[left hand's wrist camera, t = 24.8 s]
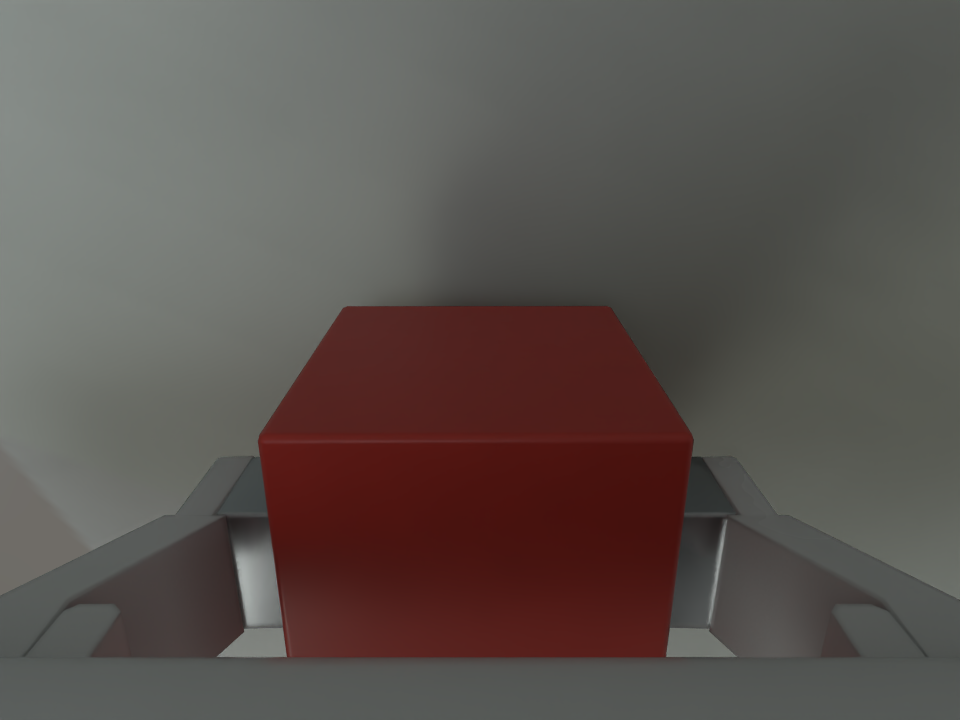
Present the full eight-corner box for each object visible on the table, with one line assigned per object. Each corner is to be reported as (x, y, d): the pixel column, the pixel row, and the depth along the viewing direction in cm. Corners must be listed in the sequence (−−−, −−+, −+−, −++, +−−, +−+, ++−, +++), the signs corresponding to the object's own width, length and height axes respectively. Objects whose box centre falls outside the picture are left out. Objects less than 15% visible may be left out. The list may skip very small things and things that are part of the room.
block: (342, 305, 11) (254, 435, 7) (611, 304, 11) (697, 435, 7) (362, 555, 13) (301, 787, 9) (593, 554, 13) (652, 787, 9)
